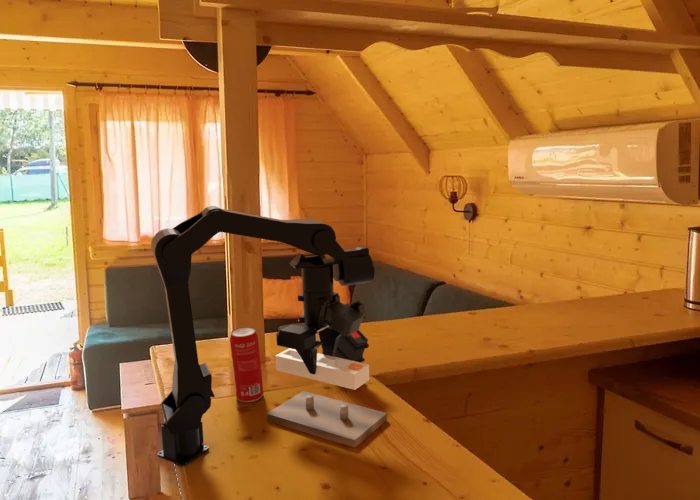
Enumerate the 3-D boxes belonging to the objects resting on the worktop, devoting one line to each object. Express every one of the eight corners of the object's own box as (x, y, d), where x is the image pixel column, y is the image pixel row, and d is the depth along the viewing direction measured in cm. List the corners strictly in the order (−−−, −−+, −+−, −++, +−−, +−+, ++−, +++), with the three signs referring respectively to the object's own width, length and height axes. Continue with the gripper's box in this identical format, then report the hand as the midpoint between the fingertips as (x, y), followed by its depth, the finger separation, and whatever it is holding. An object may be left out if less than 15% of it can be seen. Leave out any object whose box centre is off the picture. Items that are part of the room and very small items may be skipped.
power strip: (354, 389, 109) (354, 372, 108) (276, 370, 118) (275, 353, 117) (369, 379, 113) (369, 362, 112) (292, 361, 122) (291, 345, 122)
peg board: (354, 447, 109) (354, 427, 108) (267, 420, 119) (266, 401, 119) (386, 420, 119) (386, 401, 118) (303, 397, 129) (302, 379, 129)
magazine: (324, 356, 147) (340, 308, 140) (356, 395, 140) (375, 346, 132) (311, 360, 145) (327, 312, 137) (343, 399, 137) (362, 350, 130)
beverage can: (269, 394, 131) (266, 328, 128) (249, 406, 125) (246, 337, 122) (247, 389, 134) (244, 323, 131) (227, 400, 128) (223, 332, 125)
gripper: (325, 308, 100) (328, 397, 103) (381, 282, 115) (382, 359, 119) (272, 299, 106) (276, 383, 109) (332, 275, 121) (335, 349, 125)
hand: (321, 368), depth 115 cm, fingers closed on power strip, 5 cm apart
